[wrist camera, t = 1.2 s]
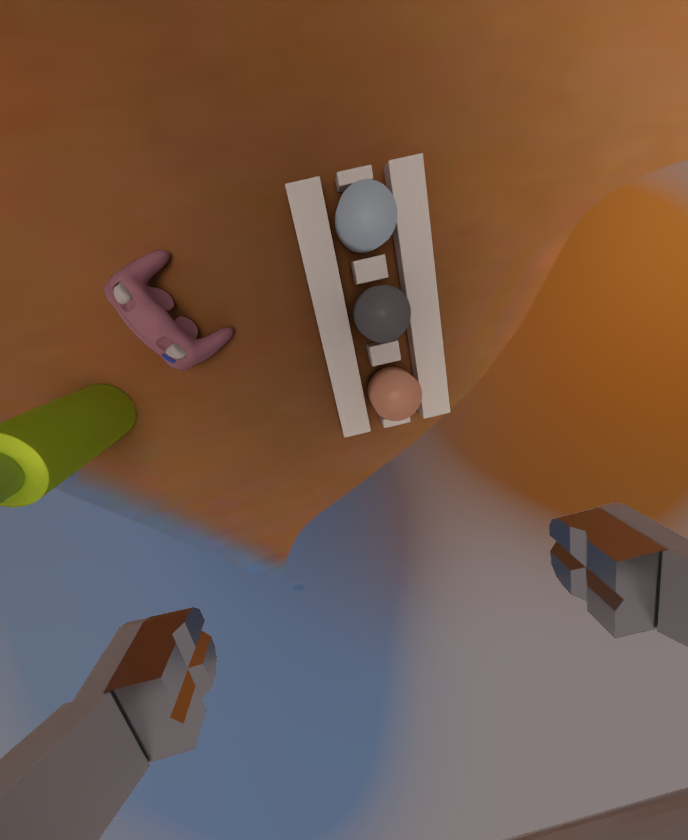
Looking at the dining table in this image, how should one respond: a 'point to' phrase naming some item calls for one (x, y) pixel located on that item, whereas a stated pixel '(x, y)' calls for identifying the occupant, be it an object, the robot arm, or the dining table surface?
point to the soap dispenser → (59, 440)
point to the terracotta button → (394, 393)
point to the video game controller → (159, 315)
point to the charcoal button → (381, 313)
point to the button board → (413, 275)
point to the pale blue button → (365, 216)
